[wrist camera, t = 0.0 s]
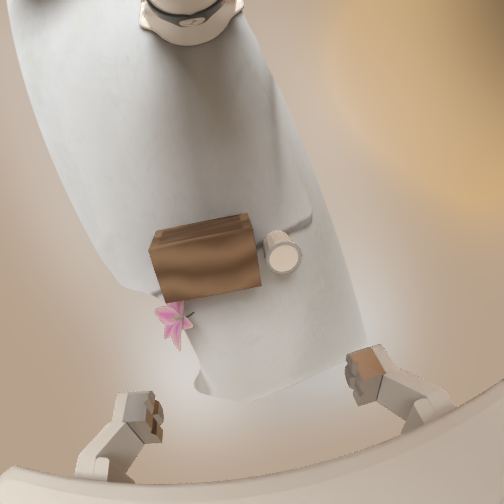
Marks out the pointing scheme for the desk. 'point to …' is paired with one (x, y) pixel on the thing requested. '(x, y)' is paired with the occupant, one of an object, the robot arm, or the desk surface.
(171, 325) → the lily
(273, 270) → the cream tapered cup
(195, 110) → the desk surface
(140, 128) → the desk surface
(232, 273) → the walnut shelf
